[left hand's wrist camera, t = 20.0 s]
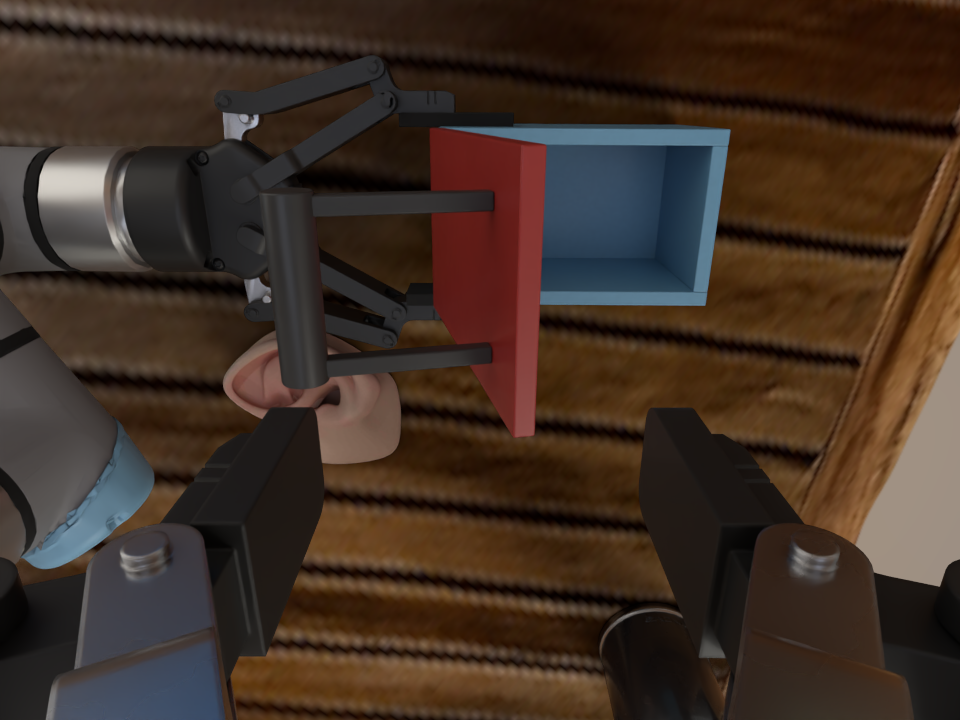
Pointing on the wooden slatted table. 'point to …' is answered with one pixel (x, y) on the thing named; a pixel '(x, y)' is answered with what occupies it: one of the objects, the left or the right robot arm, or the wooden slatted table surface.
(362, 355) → the lid
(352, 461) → the anatomical model
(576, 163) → the chest
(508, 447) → the wooden slatted table surface
